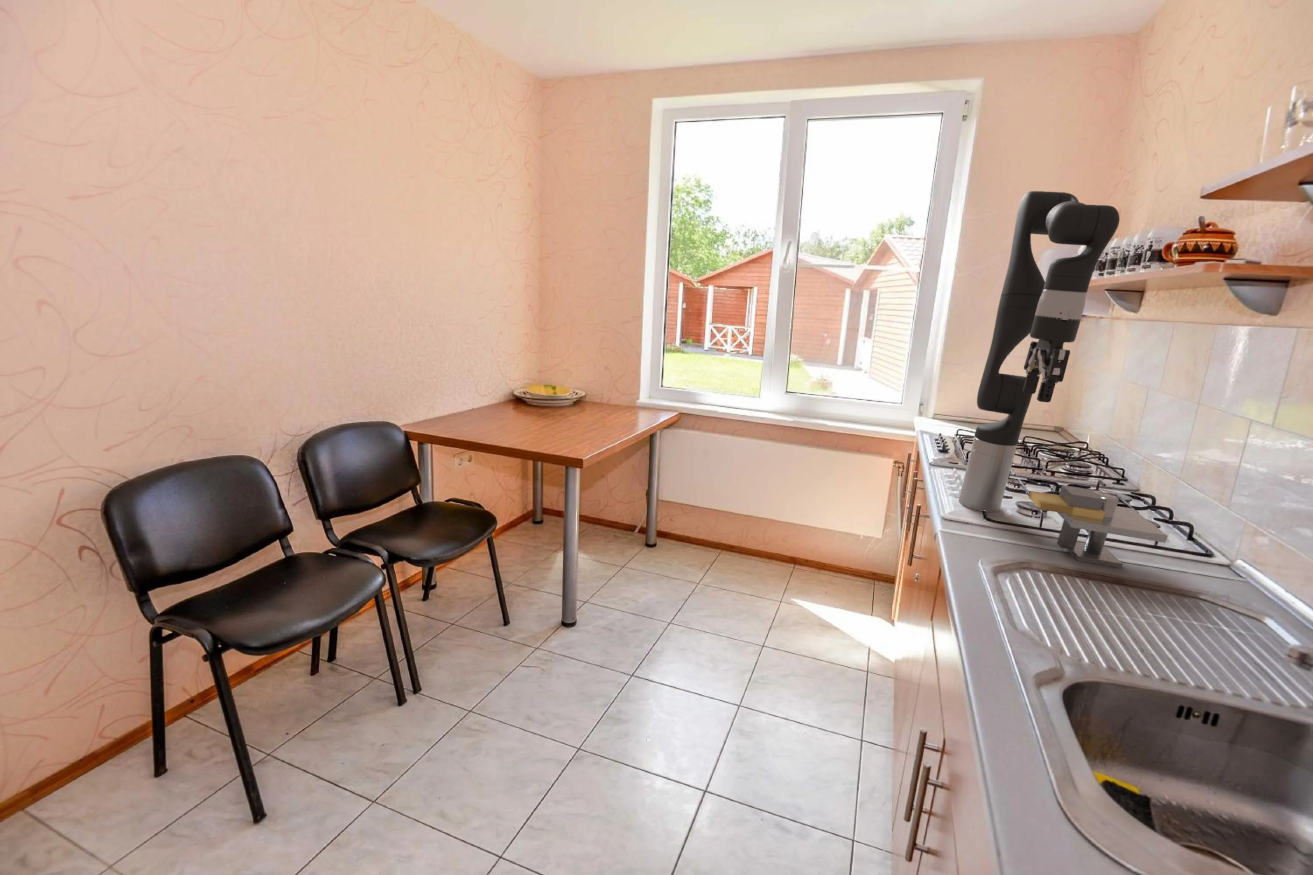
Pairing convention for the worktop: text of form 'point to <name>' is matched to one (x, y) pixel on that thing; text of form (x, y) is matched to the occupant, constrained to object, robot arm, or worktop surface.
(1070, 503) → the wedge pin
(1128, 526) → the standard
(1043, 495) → the bracket
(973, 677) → the worktop surface
